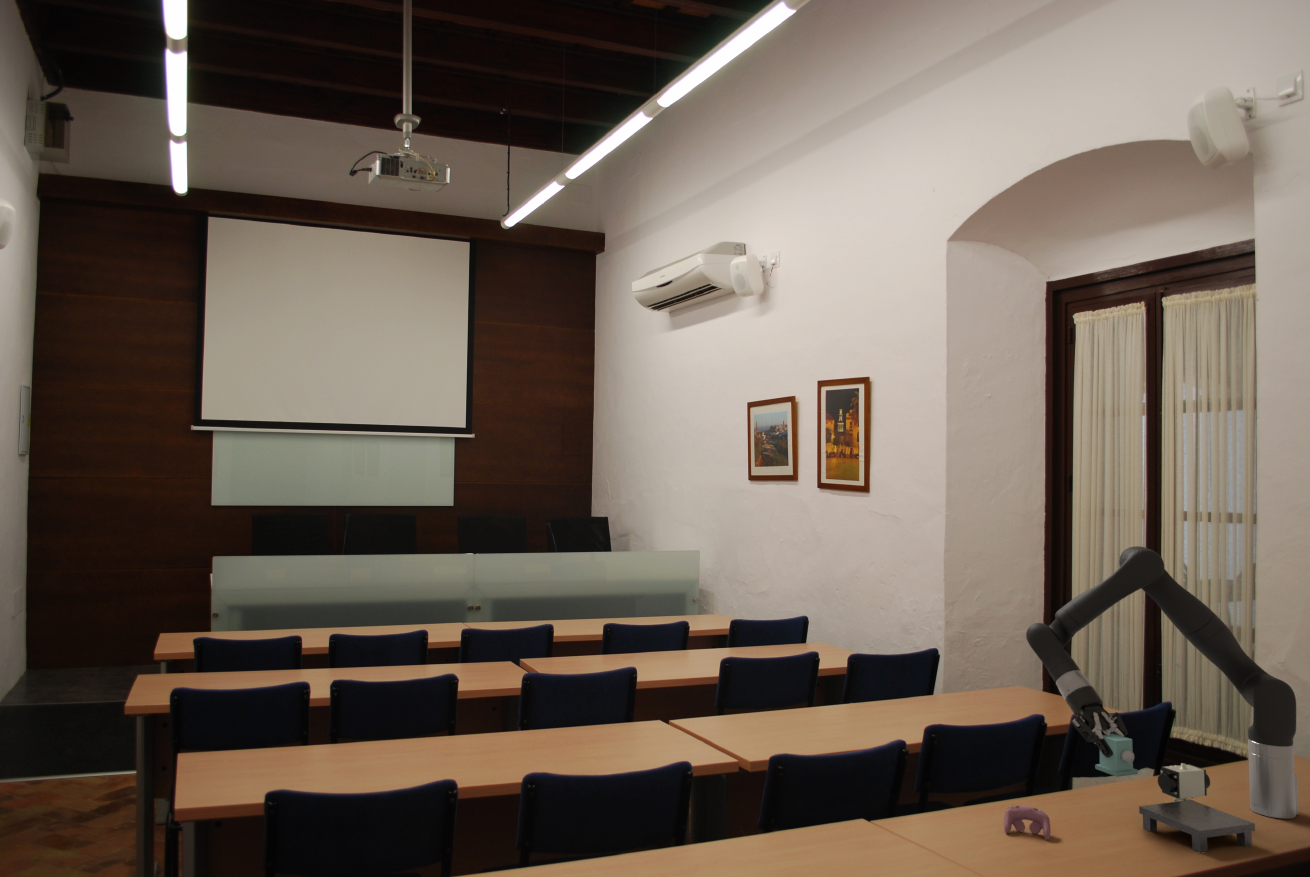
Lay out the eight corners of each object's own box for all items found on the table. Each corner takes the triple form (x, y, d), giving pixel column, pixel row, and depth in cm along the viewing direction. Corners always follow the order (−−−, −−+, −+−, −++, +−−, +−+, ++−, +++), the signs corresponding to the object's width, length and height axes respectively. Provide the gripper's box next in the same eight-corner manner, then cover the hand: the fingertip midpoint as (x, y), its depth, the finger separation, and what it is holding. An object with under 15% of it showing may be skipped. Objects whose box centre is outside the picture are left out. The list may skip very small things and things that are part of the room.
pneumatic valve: (1212, 814, 216) (1210, 764, 216) (1173, 819, 212) (1172, 768, 213) (1192, 807, 221) (1191, 758, 222) (1154, 811, 218) (1153, 761, 219)
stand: (1191, 821, 211) (1191, 799, 211) (1255, 846, 196) (1254, 823, 196) (1139, 828, 206) (1139, 806, 207) (1200, 854, 191) (1200, 830, 191)
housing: (1115, 766, 216) (1114, 732, 216) (1141, 775, 209) (1140, 740, 209) (1095, 768, 213) (1094, 735, 214) (1120, 777, 207) (1119, 743, 207)
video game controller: (1050, 843, 201) (1050, 810, 204) (1050, 840, 197) (1050, 807, 200) (1004, 835, 205) (1004, 804, 208) (1003, 832, 201) (1003, 800, 204)
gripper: (1064, 686, 218) (1105, 749, 206) (1108, 682, 223) (1151, 743, 211) (1048, 703, 223) (1087, 765, 211) (1092, 699, 228) (1132, 760, 216)
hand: (1119, 754), depth 211 cm, fingers closed on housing, 5 cm apart
